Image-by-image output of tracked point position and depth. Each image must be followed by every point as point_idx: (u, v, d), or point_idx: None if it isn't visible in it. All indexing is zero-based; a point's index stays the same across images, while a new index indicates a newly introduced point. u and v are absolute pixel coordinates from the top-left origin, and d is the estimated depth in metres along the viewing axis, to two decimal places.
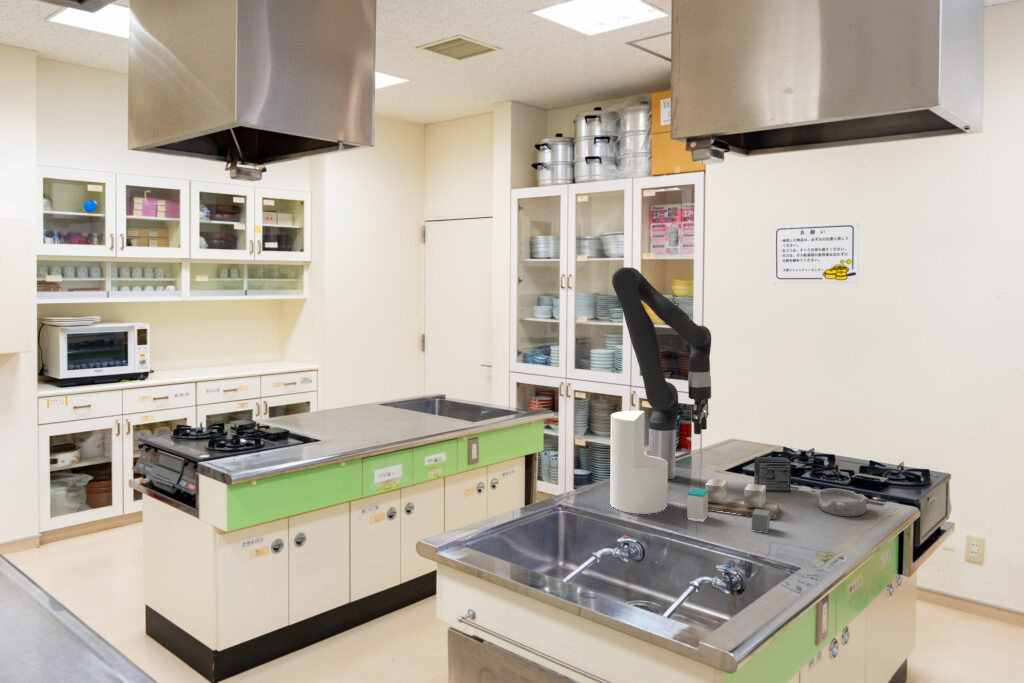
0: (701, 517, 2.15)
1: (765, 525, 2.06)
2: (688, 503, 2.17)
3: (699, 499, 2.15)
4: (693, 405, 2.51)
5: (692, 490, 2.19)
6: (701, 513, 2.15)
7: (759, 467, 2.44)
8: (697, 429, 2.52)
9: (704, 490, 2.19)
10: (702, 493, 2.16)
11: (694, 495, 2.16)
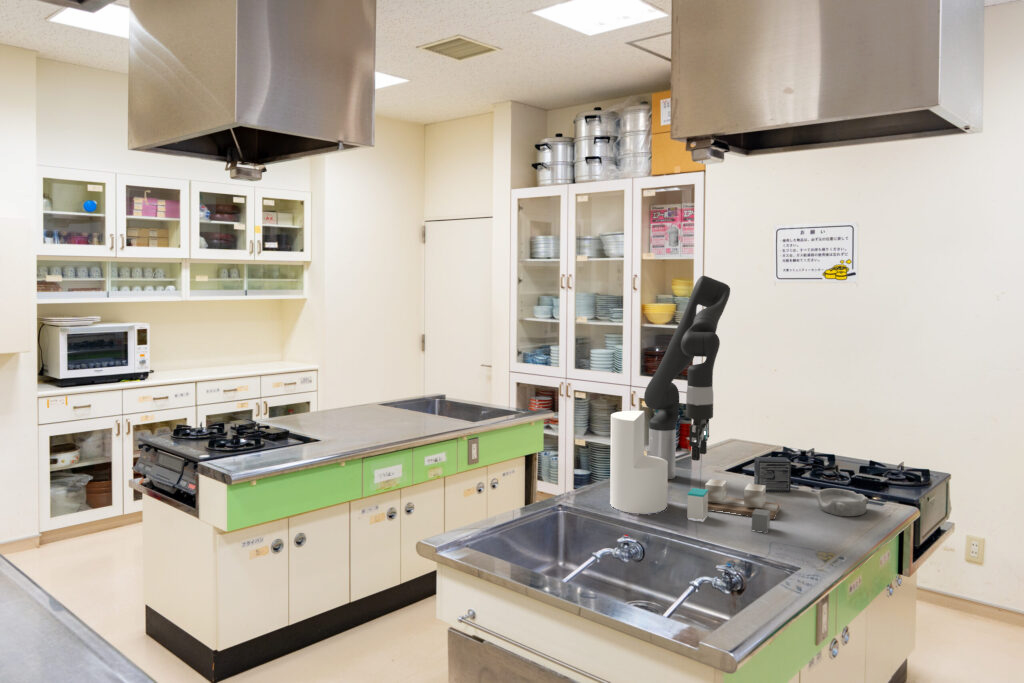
0: (701, 517, 2.15)
1: (765, 525, 2.06)
2: (688, 503, 2.17)
3: (699, 499, 2.15)
4: (691, 426, 2.11)
5: (692, 490, 2.19)
6: (701, 513, 2.15)
7: (759, 467, 2.44)
8: (695, 454, 2.12)
9: (704, 490, 2.19)
10: (702, 493, 2.16)
11: (694, 495, 2.16)
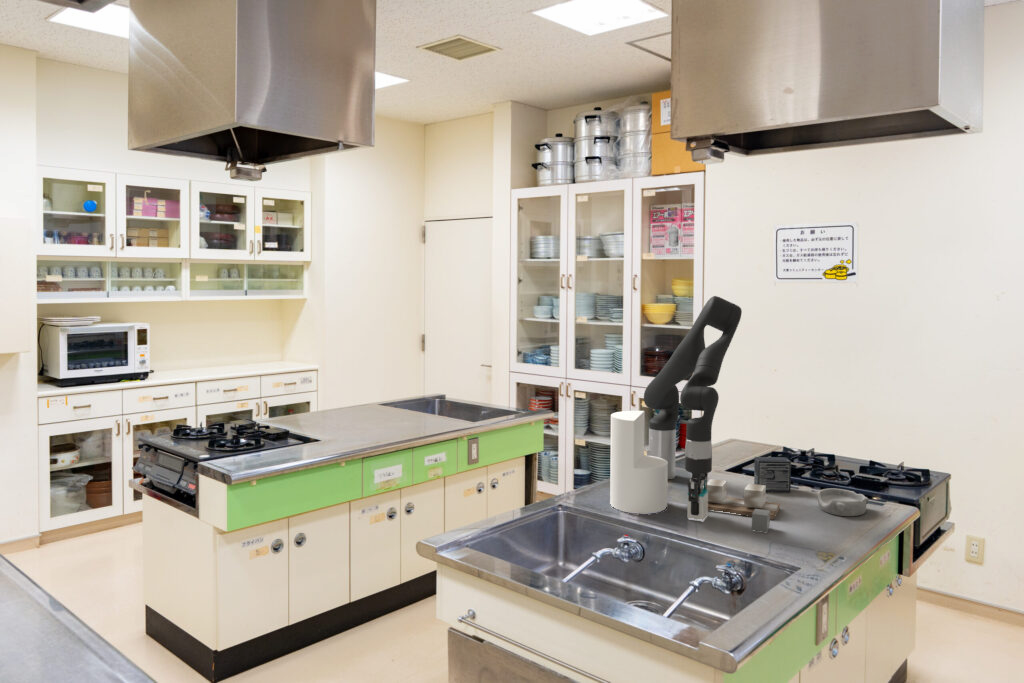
0: (701, 517, 2.15)
1: (765, 525, 2.06)
2: (688, 503, 2.17)
3: None
4: (690, 483, 2.12)
5: None
6: (701, 513, 2.15)
7: (759, 467, 2.44)
8: (695, 509, 2.15)
9: (704, 490, 2.19)
10: (702, 493, 2.16)
11: (694, 495, 2.16)
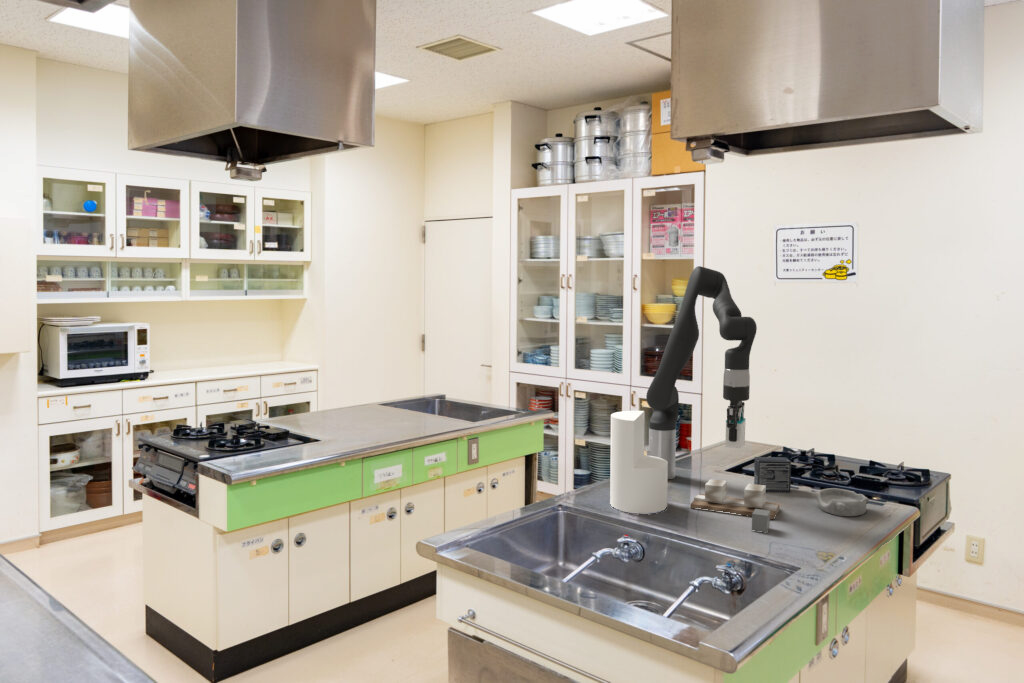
0: (739, 443, 2.22)
1: (765, 525, 2.06)
2: (726, 430, 2.24)
3: None
4: (729, 409, 2.19)
5: None
6: (739, 439, 2.22)
7: (759, 467, 2.44)
8: (733, 436, 2.22)
9: None
10: (740, 420, 2.23)
11: (732, 422, 2.23)
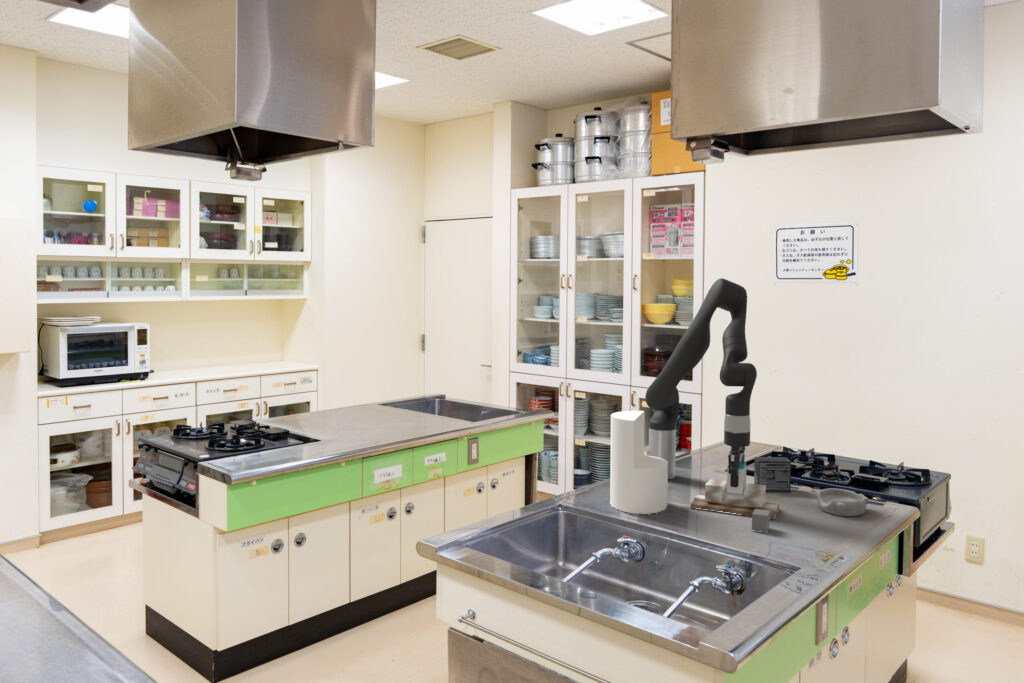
0: (741, 489, 2.24)
1: (765, 525, 2.06)
2: (728, 475, 2.25)
3: (739, 472, 2.23)
4: (730, 456, 2.21)
5: None
6: (741, 485, 2.23)
7: (759, 467, 2.44)
8: (734, 481, 2.23)
9: (743, 463, 2.27)
10: (741, 466, 2.24)
11: (734, 468, 2.24)
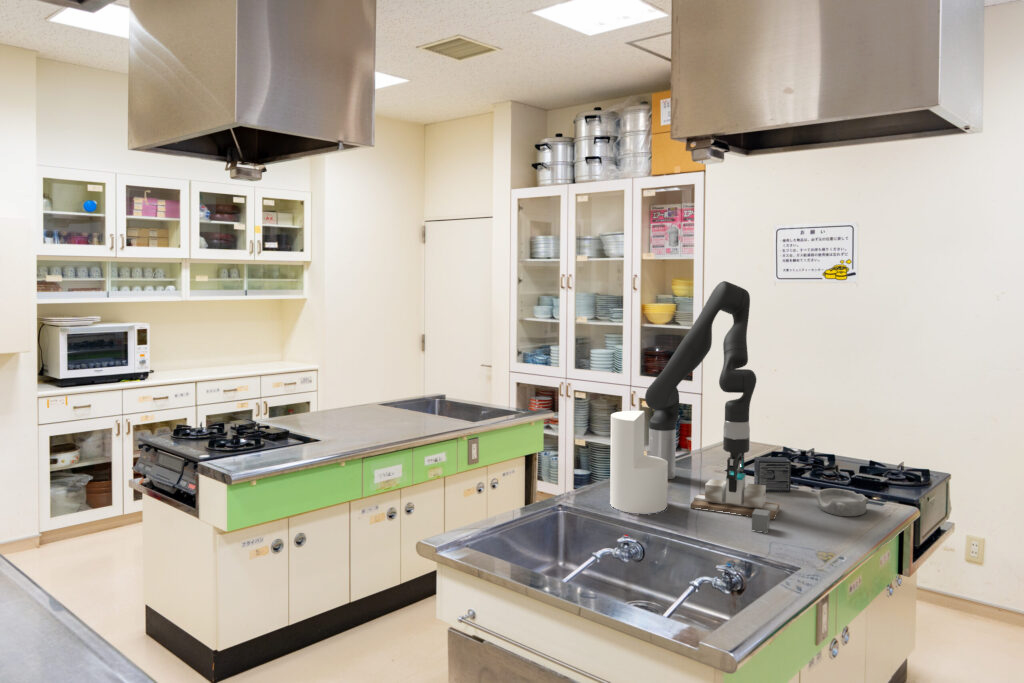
0: (739, 499, 2.24)
1: (765, 525, 2.06)
2: (727, 486, 2.25)
3: (738, 482, 2.24)
4: (729, 460, 2.21)
5: None
6: (739, 496, 2.24)
7: (759, 467, 2.44)
8: (732, 487, 2.22)
9: (742, 474, 2.28)
10: (740, 476, 2.25)
11: None
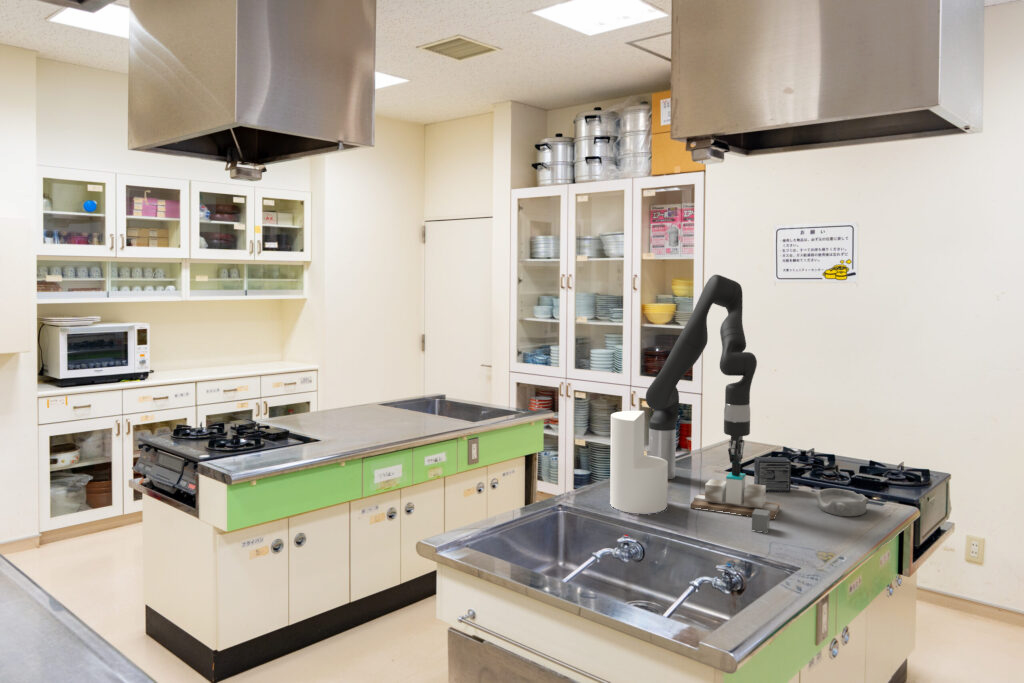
0: (739, 499, 2.24)
1: (765, 525, 2.06)
2: (727, 486, 2.25)
3: (738, 482, 2.24)
4: (730, 450, 2.21)
5: (730, 474, 2.28)
6: (739, 496, 2.24)
7: (759, 467, 2.44)
8: (736, 470, 2.25)
9: (742, 474, 2.28)
10: (740, 476, 2.25)
11: (733, 478, 2.24)
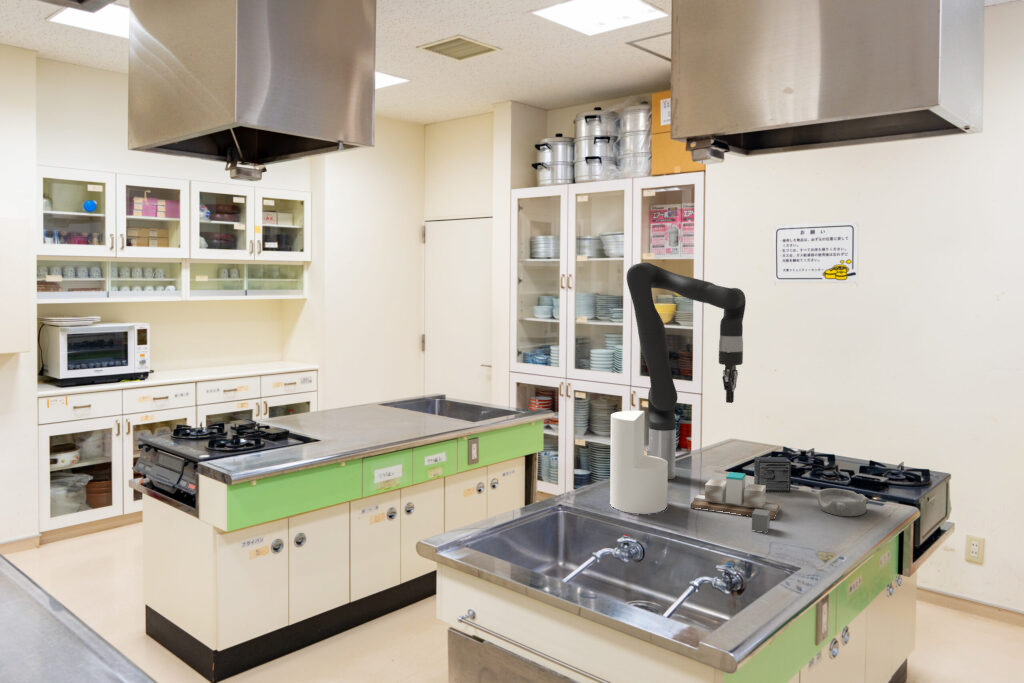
0: (739, 499, 2.24)
1: (765, 525, 2.06)
2: (727, 486, 2.25)
3: (738, 482, 2.24)
4: (724, 378, 2.40)
5: (730, 474, 2.28)
6: (739, 496, 2.24)
7: (759, 467, 2.44)
8: (729, 397, 2.44)
9: (742, 474, 2.28)
10: (740, 476, 2.25)
11: (733, 478, 2.24)
